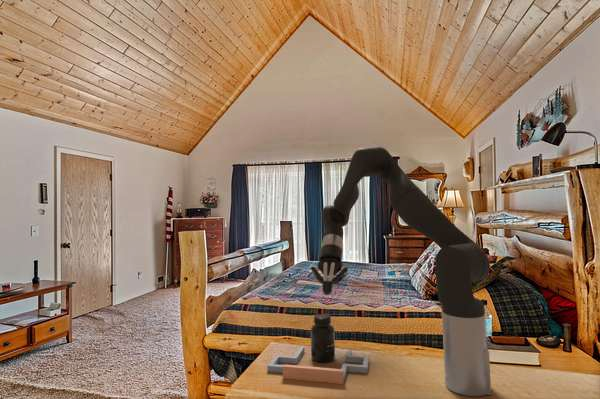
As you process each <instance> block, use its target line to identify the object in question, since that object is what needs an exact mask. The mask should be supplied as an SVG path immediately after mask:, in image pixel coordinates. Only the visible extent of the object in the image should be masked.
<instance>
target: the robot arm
mask: <svg viewBox="0 0 600 399" xmlns="http://www.w3.org/2000/svg"><path fill="white" fill-rule="evenodd" d="M376 176H379V177H380V178H382V179H383V181H385V183H386V184H387V186H388V187H389V202H390V205H391V208H392V209H393V211H394V212H395V213H396V214H397V215H398V217H399V218H400V219H401V220H402V221H403V222H404V224H405V225H407V226H408V227H409V228H411V229H412V230H414V231H416V232H418V234H420V235H422V236H424V237H426V238H428V240H430V241H432V242H434V243H435V245H437V246H438V247H439V248H440V249H439V250H438V252H437V253H436V257H435V261H434V262H435V264H434V266H435V267H434V270H435V281H436V290H437V296H438V300H439V303H440V306H441V317H442V319H441V320H442V322H441V323H442V340H443V341H442V343H443V364H444V365H443V366H444V382H445V383H444V384H445V387H446V388H447V389H448V390H450V391H452V392H453V393H456V394H458V395H462V396H467V397H482V396H486V395H489V396H491V395H492V382H491V381H492V380H491V362H490V361H491V360H490V351H489V349H488V348H487V335H486V334H487V331H486V330H487V329H486V311H485V309H486V308H485V303H484V302H483V301H482V300H481V299H479V298H476V297H475V295H474V291H473V290H474V289H473V284H472V283H475V282H480V281H481V280H484V279H486V278H487V277H488V275H489V274H490V270H491V262H490V259H489V257H488V255H487V253H486V252H485V250H483V249H482V247H481V246H479V244H477V243H476V242H475V241H474V240H473V239H472V238H470V237H469V236H468V235H467V234H465V233H464V231H462V230H461V229H459V227H457V226H456V225H455V224H454V223H453V222H452V221H451V220H450V219H449V218H448V217H447V216H446V215H445V214H444V212H442V211H441V210H440V209H439V207H437V205H436V204H434V203H433V201H432V200H431V199H430V198H429V197H428V196H427V195H426V193H424V192H423V190H422V189H421V188H419V186H417V185H416V184H415V183H414V182H413V180H412V178H410V177H409V176H408V175H407V174H406V172H405V171H404V170H403V169H402V168H401V167H400V165H399V164H398V163H397V161H396V160H395V158H394V157H393V155H391V153H390V152H389V151H388V150H387V149H386V148H384V147H381V146H366V147H360V148H357V149H356V150H355V151H354V153H353V154H352V157H351V160H350V161H349V165H348V168H347V171H346V174H345V177H344V181H343V183H342V186H341V188H340V189H339V191H338V193H337V195H336V196H335V198H334V200H333V203H332V204H333V205H332V204H327V205H325V206H324V208H323V209H322V212H321V219H322V220H321V221H322V225H323V230H324V231H323V237H322V238H323V239H322V242H321V248H320V254H319V260H318V262H317V265H315V266H314V265H313V266H311V267H310V270H311V272H312V276H314V277H315V279H316V280H317V281H318V282H319V284H322V292H323V294H324V296H325V295H326V296H330V295H331V294H332V292H333V286H334V285H338V284H339V283H340V282H341V281H342V280H344V279H345V278H346V276H347V275H348V274H349V270H348V269H349V268H348V267H347V266H346V267H345V266H343V263H342V261H343V251H344V243H343V239H344V228H343V227H346V226H347V225H348V223H349V222H350V221H349V220H350V213H351V212H352V209H353V207H354V206H355V204H356V203H357V201H358V199H359V196H360V190H359V183H360V181H361V180H363V179H364V178H368V177H376ZM319 271H320V272H321V274H322V276H323V277H322V276H321V274H320V272H319Z"/></svg>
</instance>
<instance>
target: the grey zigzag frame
mask: <svg viewBox="0 0 600 399" xmlns="http://www.w3.org/2000/svg"><path fill="white" fill-rule="evenodd" d="M305 350H306V349H305V345H304V346H300V347H299V348H298V350H297V351H296V352H295V354H294V356H292V355H284V354H283V355H282V354H281V355H279V354H276V355H275V356H274V357H273V358H272V360H271V361H269V363H268V364H267V372H269V373H278V374H279V373H280V374H281V373H282V379H284V380H285V379H286V380H296V381H305V382H306V381H307V382H318V383H326V382H327V383H328V384H339V385H344V383H345V380H346V377H347V373H357V372H359V373H360V374H368V370H369V363H370V355H369V356H368V355H356V354H353V352H352V349H347V350H346V353H345V358H344V359H345V362H346V363H342V365H341V368H331V367H319V366H310V365H309V366H307V365H297V364H298V363H299V361H300V360H301V359H302V357H303V355H304V354H303V353H305V352H304V351H305ZM280 363H283V364H280ZM351 363H359V364H351ZM294 364H295V365H294Z"/></svg>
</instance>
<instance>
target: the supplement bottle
mask: <svg viewBox="0 0 600 399" xmlns="http://www.w3.org/2000/svg"><path fill="white" fill-rule="evenodd" d="M331 319H332V317H331V315H330V314H325V313H322V314H321V313H319V314H315V315H314V316H313V325H312V326H311V328H310V352H311V353H310V355H311V359H312V361H314V362H316V363H320V364H321V363H322V364H323V363H324V364H326V363H330V362H333V361H334V360H335V358H336V343H335V342H336V341H335V340H336V339H335V337H336V336H335V328H334V326H333V325H332V324H331V323H332V320H331Z"/></svg>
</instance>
